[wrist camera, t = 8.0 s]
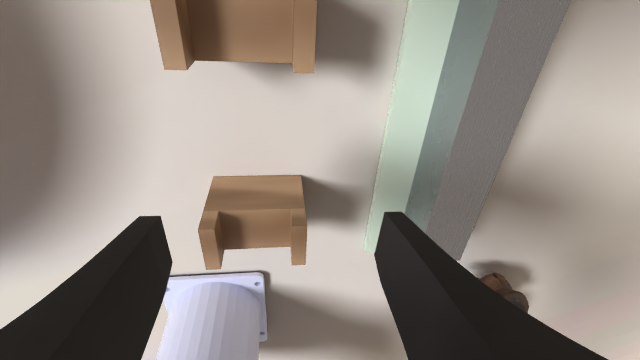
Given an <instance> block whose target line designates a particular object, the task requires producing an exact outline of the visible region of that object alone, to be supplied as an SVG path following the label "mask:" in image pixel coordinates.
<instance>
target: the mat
mask: <svg viewBox="0 0 640 360" xmlns="http://www.w3.org/2000/svg"><path fill="white" fill-rule="evenodd" d="M459 1H460V0H409V1H408V7H407V12H406V17H405V23H404V28H403V34H402V39H401V45H400V50H399V56H398V61H397V67H396V72H395V78H394V83H393V89H392V94H391V100H390V105H389V110H388V116H387V121H386V127H385V132H384V138H383V143H382V149H381V154H380V160H379V165H378V171H377V176H376V182H375V187H374V192H373V198H372V203H371V209H370V214H369V220H368V225H367V231H366V236H365V242H364V250H365V253H371V252H375V250H376V245H377V241H378V237H379V233H380V228H381V224H382V220H383V216H384V212H401V211H402V212H403V213H405V210H406V206H407V202H408V198H409V194H410V190H411V186H412V182H413V179H414V175H415V171H416V167H417V163H418V159H419V155H420V152H421V148H422V144H423V140H424V136H425V132H426V128H427V124H428V121H429V117H430V113H431V109H432V105H433V101H434V97H435V93H436V90H437V86H438V82H439V78H440V74H441V70H442V66H443V63H444V59H445V55H446V51H447V47H448V43H449V39H450V35H451V32H452V28H453V24H454V20H455V16H456V12H457V8H458V5H459Z"/></svg>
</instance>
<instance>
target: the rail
mask: <svg viewBox="0 0 640 360" xmlns="http://www.w3.org/2000/svg"><path fill="white" fill-rule="evenodd" d="M569 3H570V0H460V1H459V5H458V8H457V12H456V16H455V20H454V24H453V28H452V32H451V35H450V39H449V43H448V47H447V51H446V55H445V59H444V63H443V66H442V70H441V74H440V78H439V82H438V86H437V90H436V93H435V97H434V101H433V105H432V109H431V113H430V117H429V121H428V124H427V128H426V132H425V136H424V140H423V144H422V148H421V152H420V155H419V159H418V163H417V167H416V171H415V175H414V179H413V182H412V186H411V190H410V194H409V198H408V202H407V206H406V210H405V213H404V214H405V215H406V216H407V217H408V218H409V219H410V220H412V221H413V222H414V223H415V224H416V225H417V226H418V227H419V228H420V229H421V230H422V231H423V232H424V233H425V234H426V235H428V236H429V237H430V238H431V239H432V240H433V241H434V242H435V243H436V244H437V245H438V246H440V247H441V248H442V249H443V250H444V251H445V252H446V253H447V254H449V255H450V256H451V257H452V258H453V259H454V260H460V258H461V256H462V254H463V251H464V249H465V247H466V244H467V242H468V240H469V237H470V235H471V233H472V230H473V228H474V225H475V223H476V221H477V218H478V216H479V214H480V211H481V209H482V207H483V204H484V202H485V200H486V197H487V195H488V193H489V190H490V188H491V186H492V183H493V181H494V179H495V176H496V174H497V172H498V169H499V167H500V165H501V162H502V160H503V157H504V155H505V153H506V150H507V148H508V146H509V143H510V141H511V139H512V136H513V134H514V132H515V129H516V127H517V125H518V122H519V120H520V118H521V115H522V113H523V111H524V108H525V106H526V104H527V101H528V99H529V97H530V94H531V92H532V89H533V87H534V85H535V82H536V80H537V78H538V75H539V73H540V71H541V68H542V66H543V64H544V61H545V59H546V57H547V54H548V52H549V50H550V47H551V45H552V43H553V40H554V38H555V36H556V33H557V31H558V29H559V26H560V24H561V21H562V19H563V17H564V14H565V12H566V10H567V7H568V5H569Z"/></svg>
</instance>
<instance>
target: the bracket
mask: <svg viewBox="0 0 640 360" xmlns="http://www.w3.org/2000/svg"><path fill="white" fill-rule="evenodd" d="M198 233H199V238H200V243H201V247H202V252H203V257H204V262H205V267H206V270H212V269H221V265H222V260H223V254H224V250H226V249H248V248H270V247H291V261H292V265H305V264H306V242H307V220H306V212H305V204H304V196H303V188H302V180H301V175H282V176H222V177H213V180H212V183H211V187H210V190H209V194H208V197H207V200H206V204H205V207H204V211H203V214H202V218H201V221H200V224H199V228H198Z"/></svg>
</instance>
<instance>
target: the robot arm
mask: <svg viewBox="0 0 640 360" xmlns="http://www.w3.org/2000/svg"><path fill="white" fill-rule="evenodd" d="M374 255H375V260H376V264H377V269H378V273H379V277H380V281H381V284H382V287H383V290H384V293H385V295H386V298H387V301H388V304H389V306H390V309H391V312H392V315H393V317H394V320H395V323H396V325H397V328H398V331H399V333H400V336H401V339H402V341H403V344H404V347H405V350H406V353H407V357H408V360H608V359H606V358H604V357H602V356H600V355H598V354H596V353H595V352H593V351H591V350H589V349H587V348H585V347H584V346H582V345H580V344H578V343H576V342H574V341H573V340H571V339H569V338H567V337H566V336H564V335H562V334H560V333H559V332H557V331H555V330H554V329H552V328H550V327H548V326H547V325H545V324H544V323H542V322H540V321H539V320H537V319H536V318H534V317H532V316H531V315H529V314H528V313H526V312H524V311H523V310H521V309H520V308H518V307H517V306H515V305H514V304H512V303H511V302H509V301H508V300H506V299H505V298H504V297H502V296H501V295H499V294H498V293H497V292H495V291H494V290H492V289H491V288H490V287H488V286H487V285H486V284H484V283H483V282H482V281H480V280H479V279H478V278H476V277H475V276H474V275H473V274H471V273H470V272H469V271H468V270H466V269H465V268H464V267H463V266H461V265H460V264H459V263H458V262H457V261H456V260H454V259H453V258H452V257H451V256H450V255H449V254H447V253H446V252H445V251H444V250H443V249H442V248H441V247H440V246H438V245H437V244H436V243H435V242H434V241H433V240H432V239H431V238H430V237H429V236H428V235H426V234H425V233H424V232H423V231H422V230H421V229H420V228H419V227H418V226H417V225H416V224H415V223H414V222H413V221H412V220H410V219H409V218H408V217H407V216H406V215H405V214H404V213H403V212H402V211H401V212H384V216H383V220H382V224H381V228H380V233H379V237H378V241H377V245H376V250H375V254H374ZM171 266H172V259H171V255H170V251H169V247H168V243H167V239H166V235H165V232H164V228H163V224H162V220H161V216H139V217H138V218H137V219H136V220H135V221H134V222H132V223H131V224H130V225H129V226H128V227H127V228H126V229H125V230H124V231H122V232H121V233H120V234H119V235H118V236H117V237H116V238H115V239H114V240H113V241H111V242H110V243H109V244H108V245H107V246H106V247H105V248H104V249H102V250H101V251H100V252H99V253H98V254H97V255H96V256H94V257H93V258H92V259H91V260H90V261H89V262H88V263H86V264H85V265H84V266H83V267H82V268H81V269H79V270H78V271H77V272H76V273H74V274H73V275H72V276H71V277H69V278H68V279H67V280H66V281H64V282H63V283H62V284H61V285H60V286H58V287H57V288H56V289H55V290H53V291H52V292H51V293H50V294H48V295H47V296H46V297H45V298H43V299H42V300H41V301H39V302H38V303H37V304H35V305H34V306H33V307H31V308H30V309H29V310H27V311H26V312H24V313H23V314H22V315H20V316H19V317H17V318H16V319H15V320H13V321H12V322H10V323H9V324H7V325H6V326H5V327H3V328H2V329H0V360H141V358H142V355H143V353H144V350H145V347H146V345H147V342H148V339H149V337H150V334H151V331H152V328H153V326H154V323H155V320H156V318H157V315H158V312H159V309H160V307H161V304H162V301H164V303H165V306H166V309H167V312H168V315H169V317H168V320H167V323H166V326H165V330H164V333H163V336H162V340H161V343H160V346H159V350H158V353H157V356H156V359H155V360H258V358H259V342H264V341H266V340H267V337H268V335H267V319H266V303H265V287H264V275H263V274H262V273H260V272H253V273H235V274H217V275H198V276H180V277H169V276H170V271H171Z"/></svg>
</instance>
